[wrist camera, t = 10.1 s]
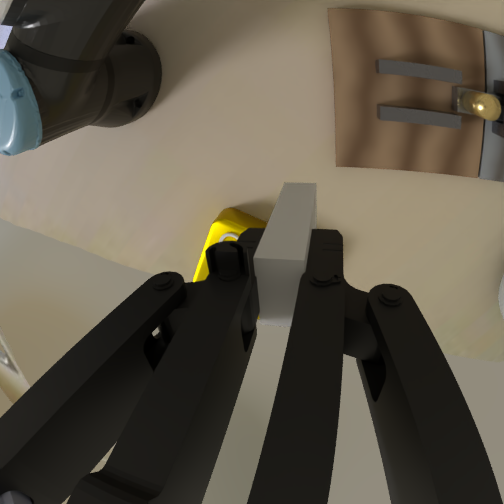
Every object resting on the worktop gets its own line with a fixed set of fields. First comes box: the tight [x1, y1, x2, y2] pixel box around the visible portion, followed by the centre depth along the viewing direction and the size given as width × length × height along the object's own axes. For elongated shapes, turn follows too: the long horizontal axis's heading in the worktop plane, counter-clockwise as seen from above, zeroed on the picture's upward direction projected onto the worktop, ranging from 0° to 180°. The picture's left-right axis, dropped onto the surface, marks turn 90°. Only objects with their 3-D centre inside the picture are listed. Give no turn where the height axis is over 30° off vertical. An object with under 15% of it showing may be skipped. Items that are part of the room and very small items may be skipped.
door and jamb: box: [328, 8, 504, 182], centre depth 29 cm, size 28×20×2 cm
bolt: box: [451, 86, 504, 121], centre depth 24 cm, size 10×3×7 cm, turn 96°
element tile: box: [193, 208, 268, 320], centre depth 49 cm, size 15×15×5 cm
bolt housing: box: [375, 59, 504, 138], centre depth 26 cm, size 22×7×4 cm, turn 96°
